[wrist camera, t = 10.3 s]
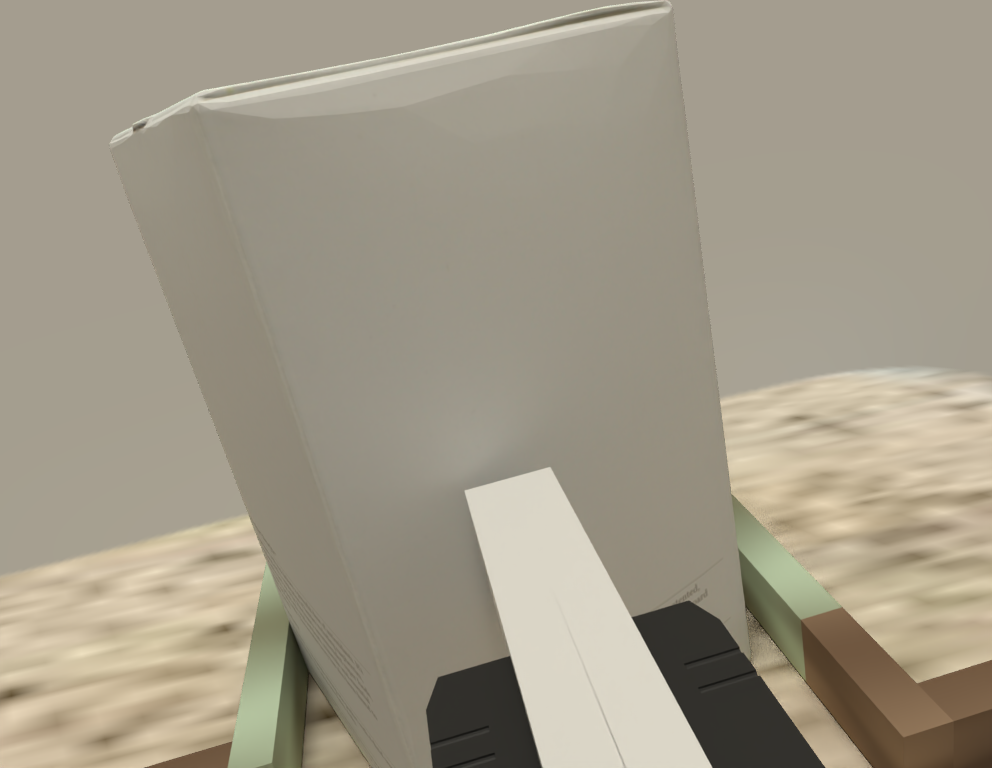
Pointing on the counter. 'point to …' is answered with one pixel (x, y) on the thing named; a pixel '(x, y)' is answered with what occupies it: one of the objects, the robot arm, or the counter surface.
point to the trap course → (778, 608)
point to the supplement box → (447, 334)
